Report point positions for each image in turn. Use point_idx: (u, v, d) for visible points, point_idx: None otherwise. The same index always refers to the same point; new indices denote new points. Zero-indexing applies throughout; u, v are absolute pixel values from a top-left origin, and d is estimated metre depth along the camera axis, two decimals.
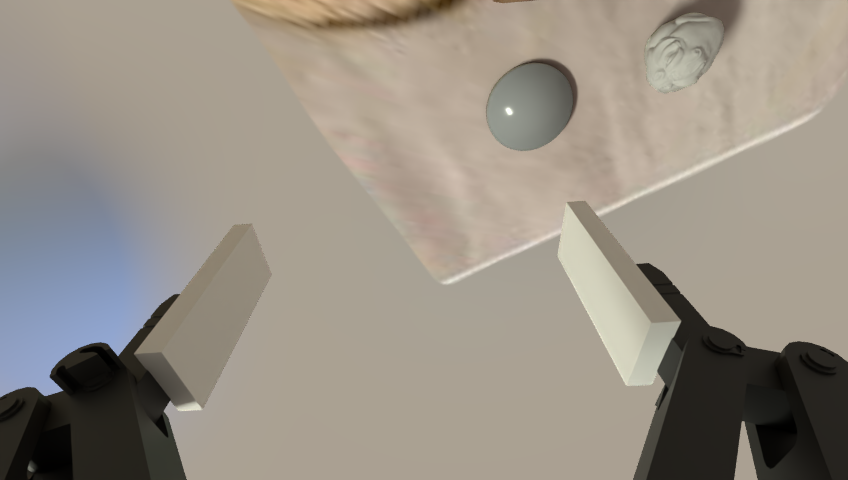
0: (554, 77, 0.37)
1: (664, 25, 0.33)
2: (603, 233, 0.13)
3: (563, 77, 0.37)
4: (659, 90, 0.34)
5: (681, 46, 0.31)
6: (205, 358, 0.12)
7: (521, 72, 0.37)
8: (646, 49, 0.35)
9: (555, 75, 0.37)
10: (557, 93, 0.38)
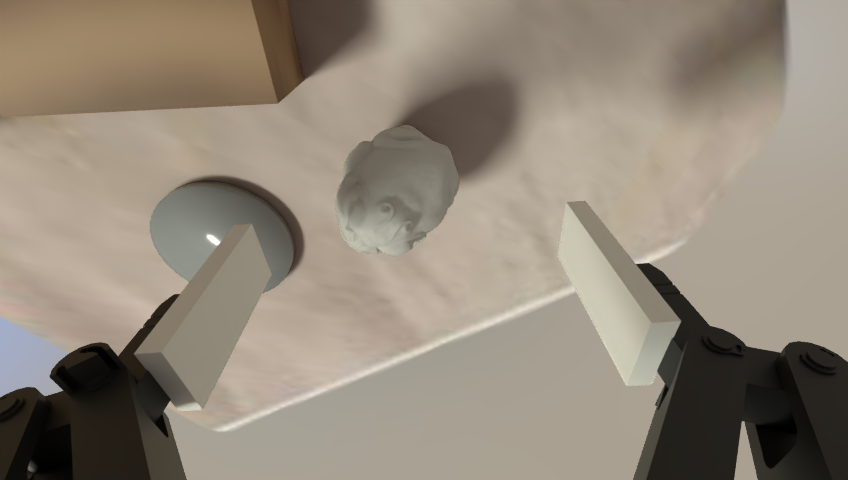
0: (240, 205, 0.23)
1: (357, 146, 0.18)
2: (603, 233, 0.13)
3: (254, 205, 0.23)
4: (365, 252, 0.20)
5: (361, 196, 0.17)
6: (205, 358, 0.12)
7: (181, 198, 0.23)
8: None
9: (240, 202, 0.23)
10: (255, 226, 0.24)
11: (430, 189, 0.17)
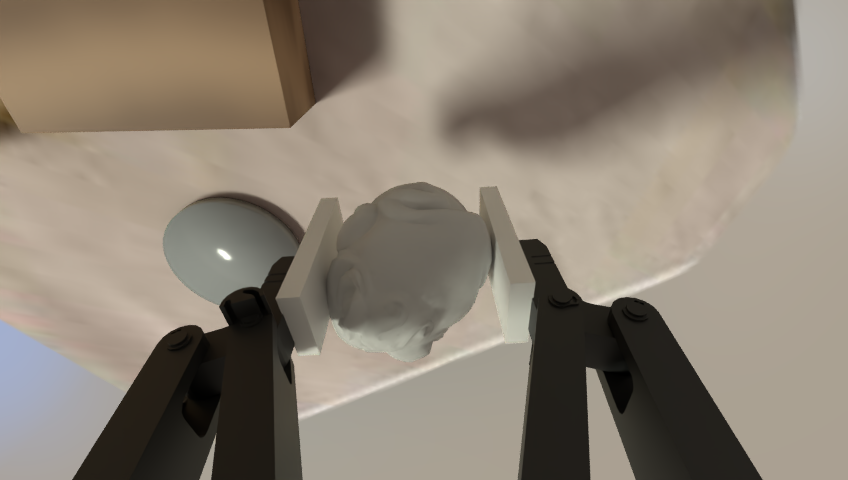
0: (251, 221, 0.23)
1: (355, 211, 0.14)
2: (501, 213, 0.14)
3: (266, 221, 0.23)
4: None
5: (360, 289, 0.12)
6: (319, 310, 0.13)
7: (195, 214, 0.23)
8: None
9: (252, 218, 0.23)
10: (266, 242, 0.24)
11: (457, 277, 0.12)
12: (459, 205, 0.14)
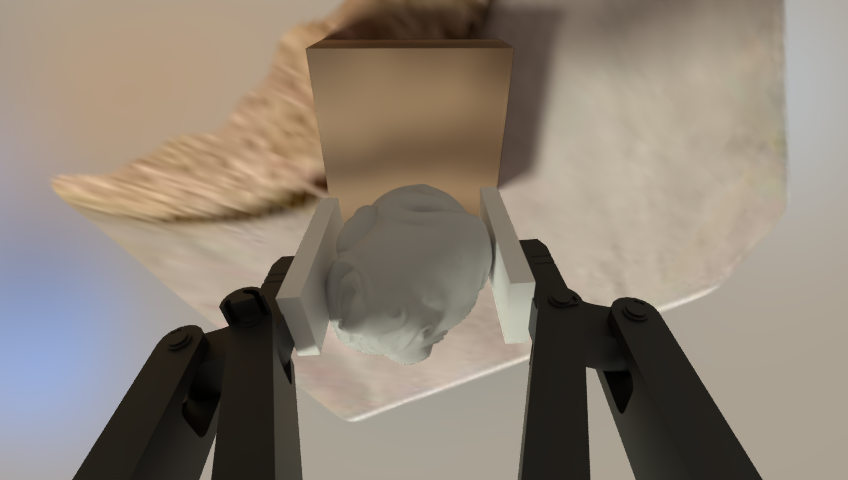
0: None
1: (355, 213, 0.13)
2: (501, 213, 0.14)
3: None
4: None
5: (360, 292, 0.12)
6: (319, 310, 0.13)
7: None
8: None
9: None
10: None
11: (458, 280, 0.12)
12: (459, 207, 0.14)
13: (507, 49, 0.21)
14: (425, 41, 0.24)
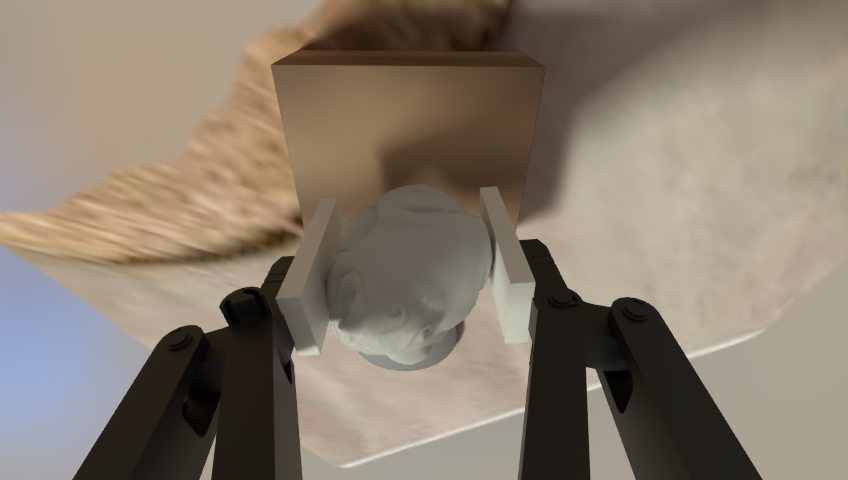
0: None
1: (355, 214, 0.13)
2: (500, 213, 0.14)
3: None
4: None
5: (360, 292, 0.12)
6: (319, 310, 0.13)
7: None
8: None
9: None
10: None
11: (457, 280, 0.12)
12: (459, 207, 0.14)
13: (536, 68, 0.16)
14: (428, 54, 0.19)
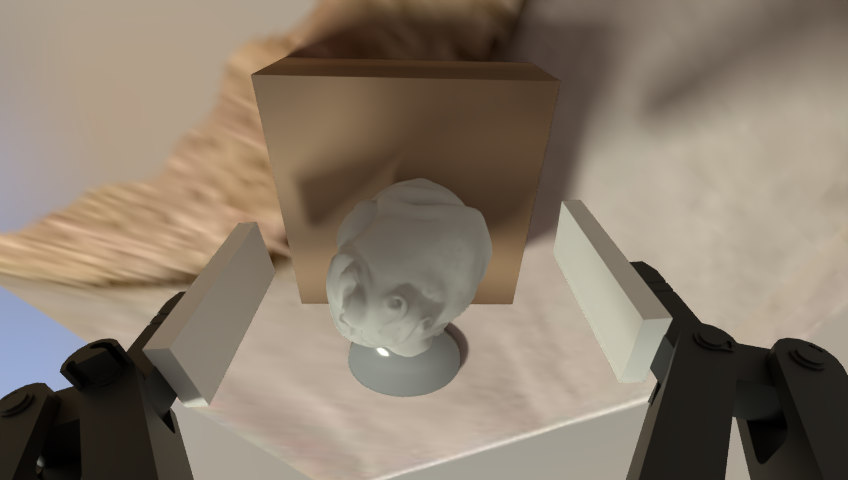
0: None
1: (355, 208, 0.14)
2: (597, 231, 0.13)
3: (442, 336, 0.28)
4: None
5: (360, 284, 0.12)
6: (211, 355, 0.12)
7: None
8: None
9: None
10: (437, 350, 0.29)
11: (457, 272, 0.13)
12: (458, 201, 0.15)
13: (550, 82, 0.14)
14: (429, 64, 0.17)
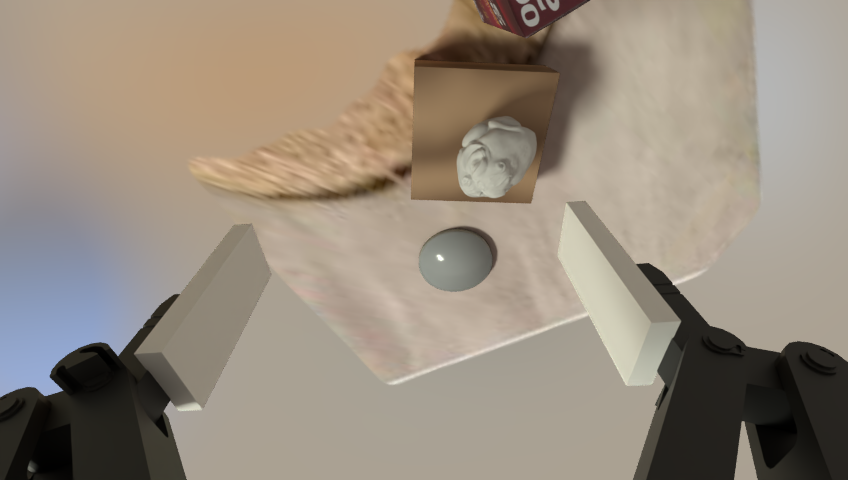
0: (474, 242, 0.44)
1: (476, 125, 0.29)
2: (603, 233, 0.13)
3: (482, 242, 0.44)
4: (469, 195, 0.30)
5: (485, 156, 0.27)
6: (205, 358, 0.12)
7: (446, 237, 0.43)
8: None
9: (475, 240, 0.43)
10: (478, 253, 0.44)
11: (524, 157, 0.28)
12: None
13: (555, 73, 0.30)
14: (492, 64, 0.33)
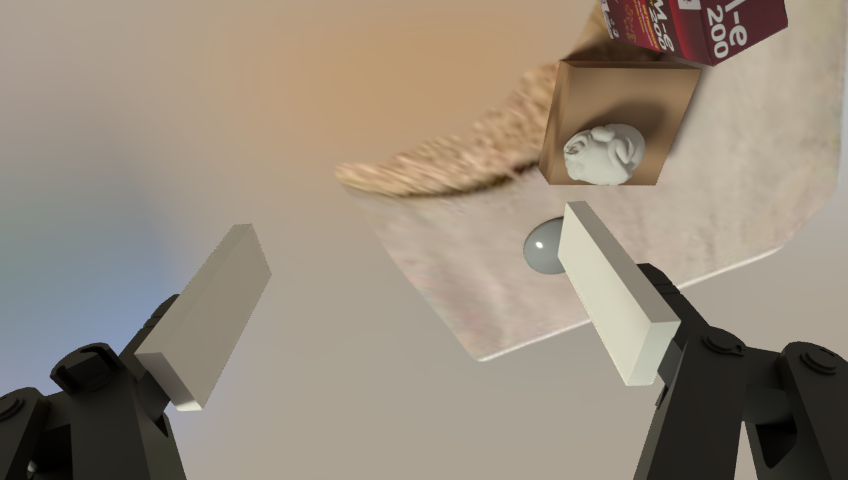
0: None
1: (607, 131, 0.34)
2: (603, 233, 0.13)
3: None
4: None
5: (578, 154, 0.35)
6: (205, 358, 0.12)
7: (552, 226, 0.49)
8: None
9: None
10: None
11: (601, 179, 0.35)
12: (636, 161, 0.34)
13: (697, 70, 0.35)
14: (631, 62, 0.37)
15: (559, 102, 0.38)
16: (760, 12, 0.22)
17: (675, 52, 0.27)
